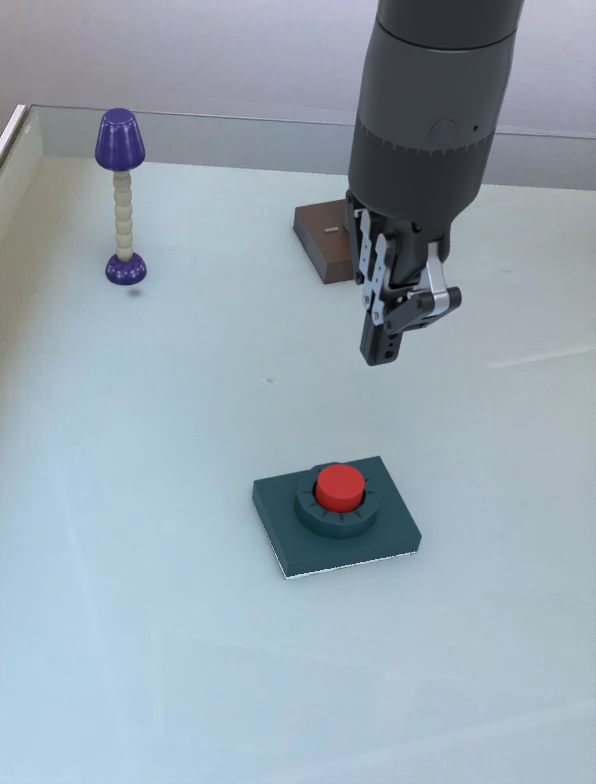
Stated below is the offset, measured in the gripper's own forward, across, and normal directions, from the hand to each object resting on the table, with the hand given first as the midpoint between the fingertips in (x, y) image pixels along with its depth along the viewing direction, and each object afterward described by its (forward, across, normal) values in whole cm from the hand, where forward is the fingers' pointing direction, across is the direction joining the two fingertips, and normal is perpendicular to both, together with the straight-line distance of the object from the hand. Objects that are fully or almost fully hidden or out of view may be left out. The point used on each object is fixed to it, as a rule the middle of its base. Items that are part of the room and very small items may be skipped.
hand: (377, 357), depth 66 cm
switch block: (+16, -1, +2) cm, 17 cm away
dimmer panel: (+17, +34, -15) cm, 41 cm away
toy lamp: (+17, +36, +10) cm, 41 cm away
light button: (+13, -1, +1) cm, 13 cm away
